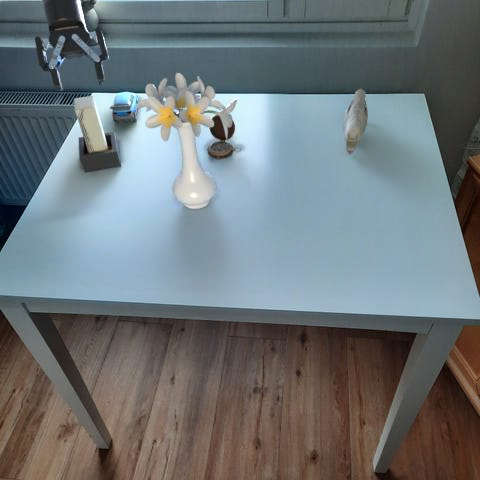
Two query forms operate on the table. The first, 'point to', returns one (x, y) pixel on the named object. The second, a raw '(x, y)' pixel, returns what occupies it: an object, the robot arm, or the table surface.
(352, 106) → the decorative bird
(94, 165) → the holder
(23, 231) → the table surface
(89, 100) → the box
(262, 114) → the table surface
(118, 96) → the toy car
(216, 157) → the compass
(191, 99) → the flower vase
